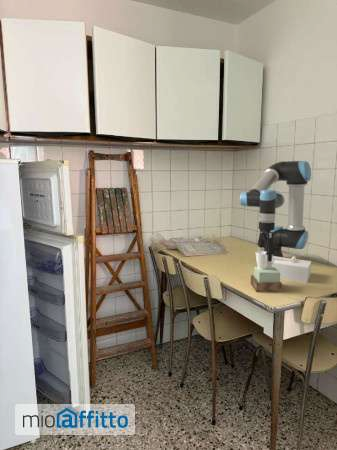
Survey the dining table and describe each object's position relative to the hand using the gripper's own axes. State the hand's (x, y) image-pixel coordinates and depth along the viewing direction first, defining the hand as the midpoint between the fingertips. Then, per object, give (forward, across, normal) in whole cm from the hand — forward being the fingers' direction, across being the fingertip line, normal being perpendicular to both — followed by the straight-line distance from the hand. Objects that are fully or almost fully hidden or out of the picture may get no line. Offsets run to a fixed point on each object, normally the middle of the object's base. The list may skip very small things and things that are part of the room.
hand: (264, 263), depth 155 cm
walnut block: (+13, +1, +1) cm, 13 cm away
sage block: (+8, +2, +1) cm, 8 cm away
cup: (+3, -1, 0) cm, 3 cm away
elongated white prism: (+13, -19, +17) cm, 28 cm away
